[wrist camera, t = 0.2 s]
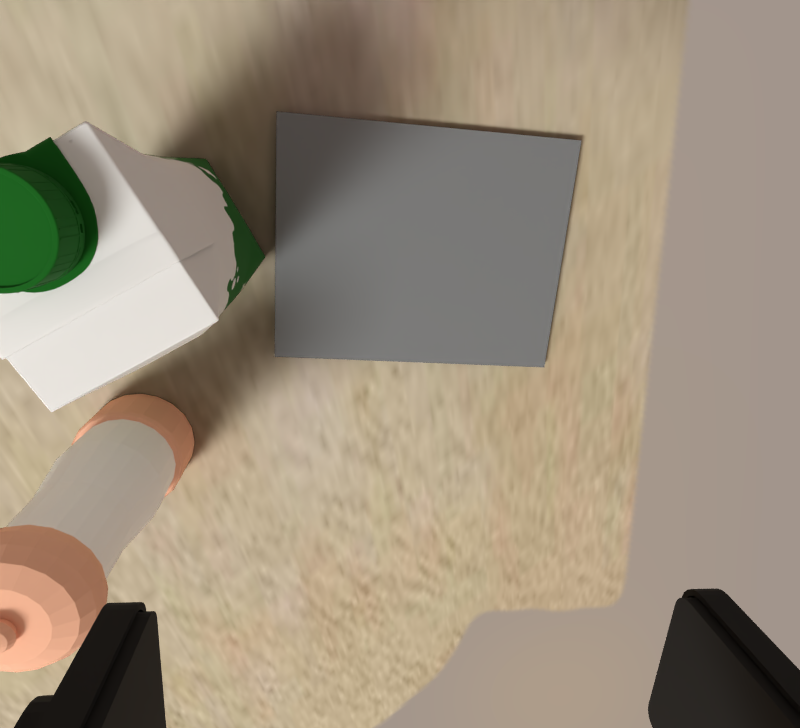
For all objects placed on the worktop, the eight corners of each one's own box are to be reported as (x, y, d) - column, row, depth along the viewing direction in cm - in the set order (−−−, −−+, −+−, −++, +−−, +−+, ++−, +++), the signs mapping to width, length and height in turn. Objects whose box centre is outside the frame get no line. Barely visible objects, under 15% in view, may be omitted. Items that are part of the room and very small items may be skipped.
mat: (277, 112, 35) (276, 111, 34) (577, 141, 37) (581, 140, 37) (275, 354, 40) (274, 356, 39) (541, 364, 42) (544, 367, 42)
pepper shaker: (152, 374, 39) (-7, 539, 21) (214, 451, 41) (120, 659, 23) (68, 426, 40) (-156, 630, 22) (135, 499, 42) (-17, 738, 24)
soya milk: (210, 137, 35) (60, 82, 16) (285, 264, 38) (234, 344, 19) (92, 204, 35) (-190, 229, 16) (175, 324, 38) (18, 462, 19)
